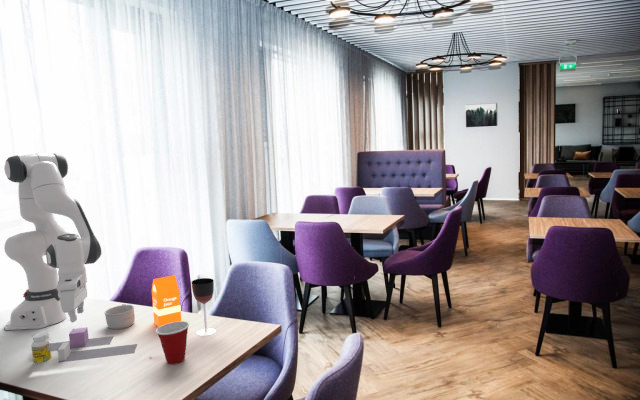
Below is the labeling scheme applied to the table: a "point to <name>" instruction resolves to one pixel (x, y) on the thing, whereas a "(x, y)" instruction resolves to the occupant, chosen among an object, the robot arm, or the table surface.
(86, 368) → the table surface
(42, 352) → the supplement bottle
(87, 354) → the empty strip
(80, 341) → the plum block
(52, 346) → the cube strip
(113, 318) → the teacup
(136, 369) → the table surface
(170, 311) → the orange juice
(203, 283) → the wineglass
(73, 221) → the robot arm
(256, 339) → the table surface
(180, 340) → the plastic cup
